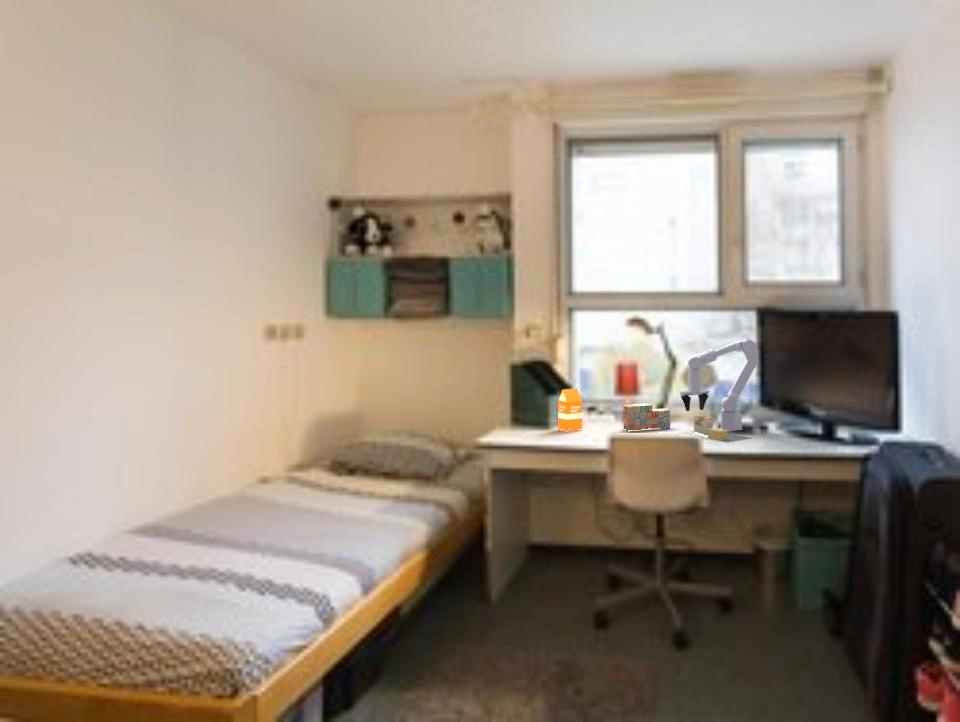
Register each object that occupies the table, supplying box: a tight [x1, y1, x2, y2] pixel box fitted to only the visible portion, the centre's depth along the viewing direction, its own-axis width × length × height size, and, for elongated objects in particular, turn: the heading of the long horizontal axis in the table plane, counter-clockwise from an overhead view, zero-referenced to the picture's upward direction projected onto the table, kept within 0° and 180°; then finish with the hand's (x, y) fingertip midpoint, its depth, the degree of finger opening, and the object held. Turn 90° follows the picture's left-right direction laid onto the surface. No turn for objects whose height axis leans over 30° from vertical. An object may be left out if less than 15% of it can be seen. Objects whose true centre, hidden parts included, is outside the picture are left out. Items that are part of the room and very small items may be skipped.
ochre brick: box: [707, 427, 728, 441], centre depth 395 cm, size 8×4×4 cm, turn 30°
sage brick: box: [693, 424, 714, 435], centre depth 407 cm, size 8×4×4 cm, turn 30°
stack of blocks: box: [622, 402, 671, 431], centre depth 423 cm, size 21×6×12 cm, turn 102°
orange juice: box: [557, 387, 583, 431], centre depth 425 cm, size 8×9×20 cm
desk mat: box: [708, 432, 754, 443], centre depth 401 cm, size 16×27×1 cm, turn 29°
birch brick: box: [693, 414, 714, 427], centre depth 406 cm, size 8×4×4 cm, turn 30°
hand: (694, 410), depth 418 cm, fingers open, 7 cm apart
